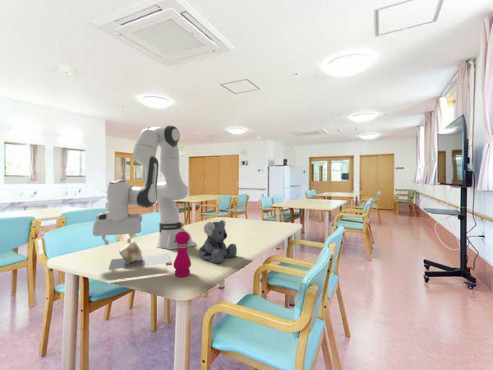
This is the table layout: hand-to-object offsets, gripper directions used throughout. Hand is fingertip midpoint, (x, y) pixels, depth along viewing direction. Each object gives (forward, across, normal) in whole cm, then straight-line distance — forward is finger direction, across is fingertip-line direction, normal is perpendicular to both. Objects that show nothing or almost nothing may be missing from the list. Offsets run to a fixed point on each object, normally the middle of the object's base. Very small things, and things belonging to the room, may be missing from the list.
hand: (118, 243), depth 119 cm
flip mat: (+10, -10, 0) cm, 14 cm away
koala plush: (+10, -46, +5) cm, 47 cm away
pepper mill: (+10, -26, +22) cm, 36 cm away
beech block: (+6, -2, 0) cm, 7 cm away
